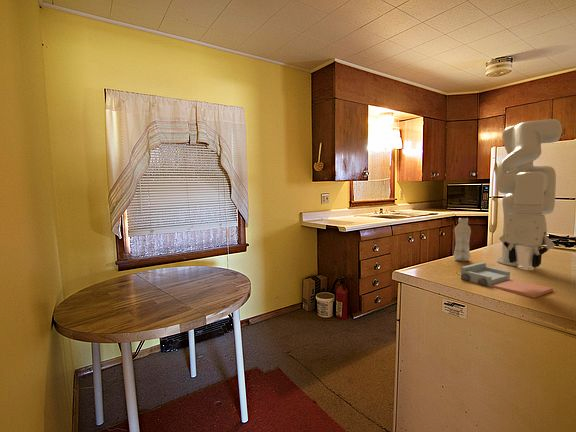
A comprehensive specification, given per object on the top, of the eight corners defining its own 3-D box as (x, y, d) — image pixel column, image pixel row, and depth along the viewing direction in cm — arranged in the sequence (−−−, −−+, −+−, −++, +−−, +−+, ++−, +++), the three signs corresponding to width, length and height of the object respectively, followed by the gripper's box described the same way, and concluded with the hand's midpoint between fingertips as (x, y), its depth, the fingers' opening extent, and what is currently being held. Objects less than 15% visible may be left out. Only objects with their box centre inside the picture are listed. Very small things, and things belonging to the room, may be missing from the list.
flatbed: (482, 274, 118) (483, 261, 118) (513, 281, 109) (513, 268, 108) (459, 280, 111) (460, 267, 111) (489, 288, 102) (490, 274, 101)
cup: (539, 267, 100) (541, 243, 99) (540, 275, 92) (541, 249, 91) (513, 264, 104) (514, 241, 104) (511, 271, 97) (513, 246, 96)
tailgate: (511, 282, 108) (511, 279, 108) (552, 290, 97) (553, 287, 97) (492, 288, 102) (492, 285, 102) (534, 297, 92) (534, 294, 92)
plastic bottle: (470, 263, 133) (472, 219, 131) (452, 262, 137) (454, 218, 134) (470, 260, 138) (472, 217, 136) (453, 258, 142) (455, 217, 140)
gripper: (492, 209, 103) (489, 260, 105) (555, 212, 88) (550, 272, 89) (504, 208, 106) (501, 257, 108) (566, 211, 91) (562, 268, 93)
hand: (524, 263), depth 99 cm, fingers closed on cup, 5 cm apart
